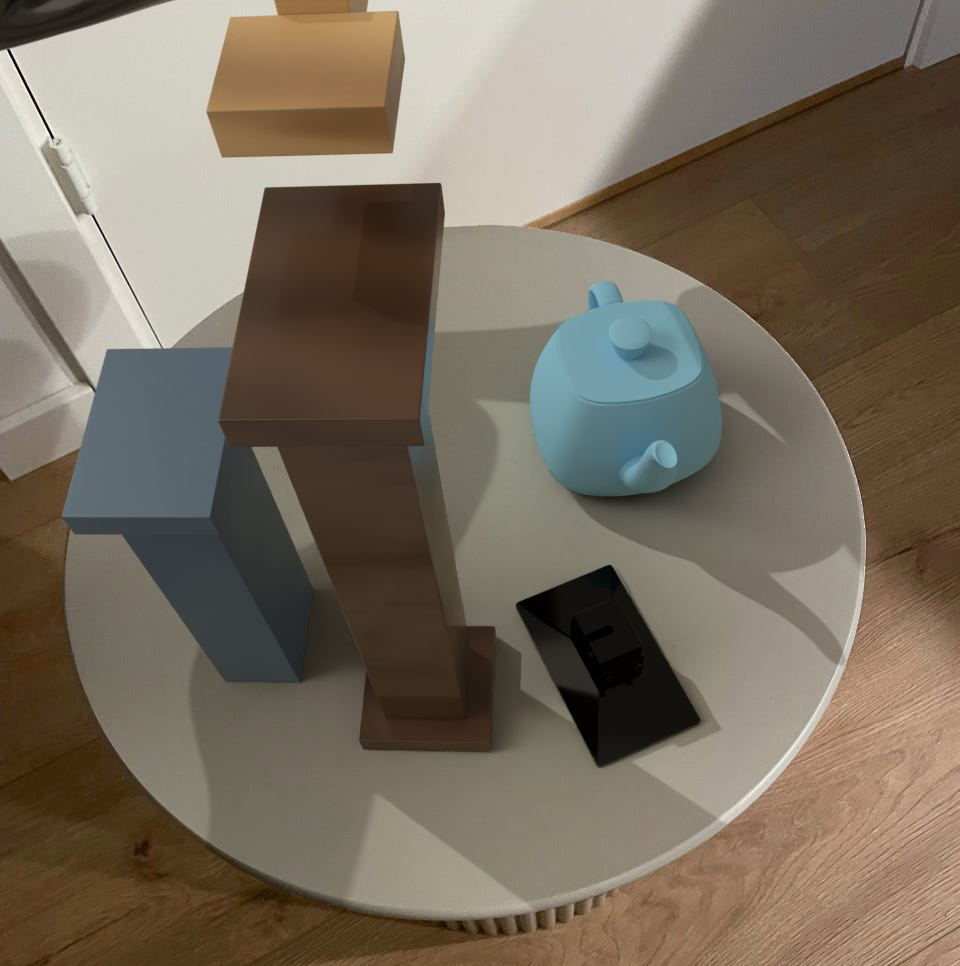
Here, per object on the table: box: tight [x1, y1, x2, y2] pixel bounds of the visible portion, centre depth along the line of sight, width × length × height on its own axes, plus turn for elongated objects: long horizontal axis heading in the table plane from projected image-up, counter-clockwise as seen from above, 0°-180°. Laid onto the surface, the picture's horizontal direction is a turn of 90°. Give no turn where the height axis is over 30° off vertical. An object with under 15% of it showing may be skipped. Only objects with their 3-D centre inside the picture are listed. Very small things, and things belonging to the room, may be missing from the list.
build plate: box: [515, 564, 701, 768], centre depth 63 cm, size 12×7×5 cm, turn 23°
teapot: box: [529, 280, 723, 497], centre depth 68 cm, size 13×11×18 cm
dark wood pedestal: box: [218, 182, 497, 753], centre depth 52 cm, size 12×8×32 cm
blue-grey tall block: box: [61, 346, 314, 683], centre depth 58 cm, size 10×7×22 cm
